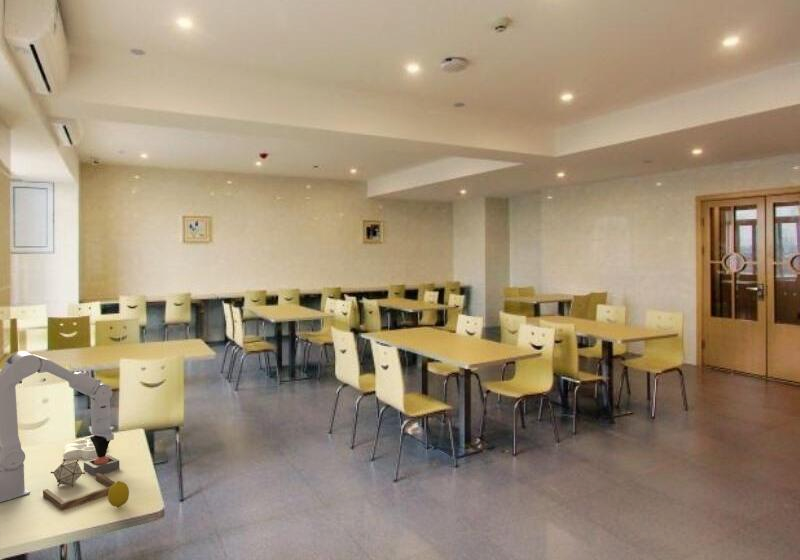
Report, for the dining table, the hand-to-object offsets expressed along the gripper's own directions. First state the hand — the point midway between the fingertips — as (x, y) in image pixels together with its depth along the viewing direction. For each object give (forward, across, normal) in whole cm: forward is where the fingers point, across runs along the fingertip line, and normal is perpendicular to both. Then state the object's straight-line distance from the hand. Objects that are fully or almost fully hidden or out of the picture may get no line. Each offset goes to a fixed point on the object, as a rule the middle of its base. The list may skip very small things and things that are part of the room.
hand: (101, 456), depth 184 cm
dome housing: (+5, 0, 0) cm, 5 cm away
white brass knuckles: (+5, +22, -4) cm, 23 cm away
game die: (+5, -4, +12) cm, 14 cm away
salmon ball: (+4, 0, 0) cm, 4 cm away
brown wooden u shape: (+5, -14, +12) cm, 19 cm away
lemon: (+5, -32, +9) cm, 34 cm away
